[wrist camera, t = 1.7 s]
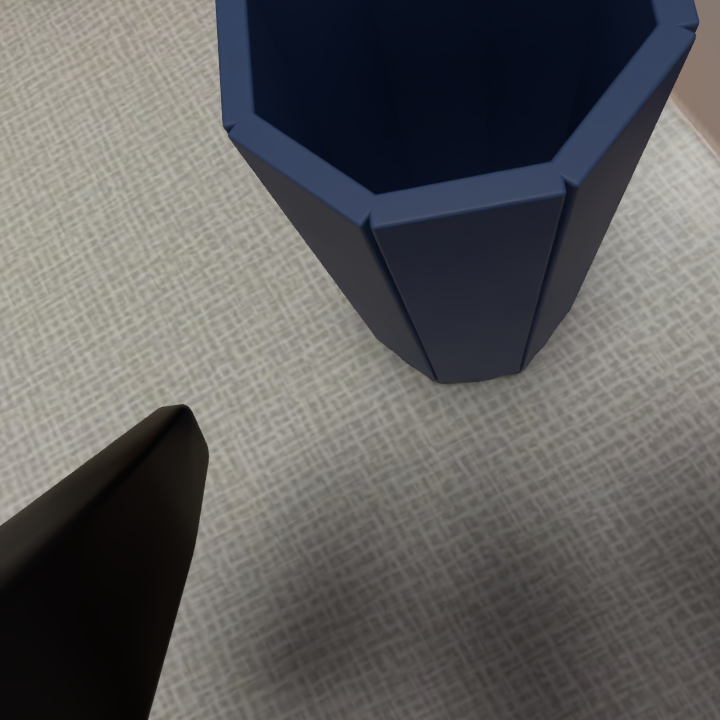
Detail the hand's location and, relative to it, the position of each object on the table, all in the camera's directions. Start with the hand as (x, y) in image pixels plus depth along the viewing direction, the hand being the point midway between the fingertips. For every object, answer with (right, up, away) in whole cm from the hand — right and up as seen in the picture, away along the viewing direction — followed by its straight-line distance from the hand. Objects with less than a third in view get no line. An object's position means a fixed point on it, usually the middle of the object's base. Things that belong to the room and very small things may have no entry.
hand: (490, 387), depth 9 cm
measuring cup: (+2, +5, +13) cm, 14 cm away
